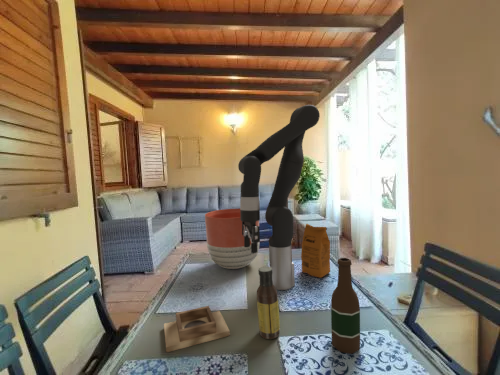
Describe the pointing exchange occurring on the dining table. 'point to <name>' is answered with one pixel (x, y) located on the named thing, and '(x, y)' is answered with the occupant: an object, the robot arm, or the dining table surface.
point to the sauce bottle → (267, 305)
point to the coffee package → (315, 251)
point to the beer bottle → (345, 311)
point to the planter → (227, 239)
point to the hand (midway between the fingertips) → (250, 249)
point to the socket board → (194, 328)
